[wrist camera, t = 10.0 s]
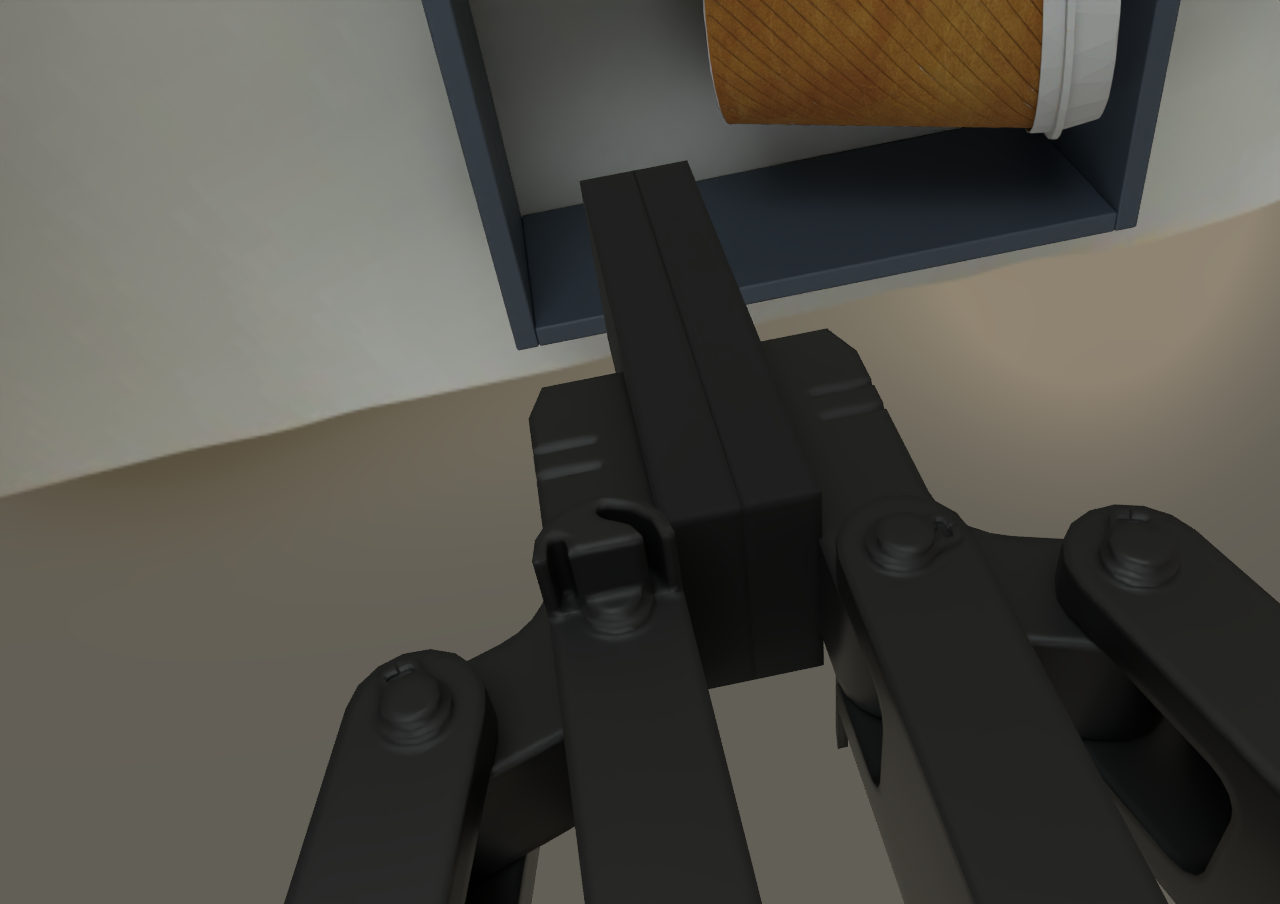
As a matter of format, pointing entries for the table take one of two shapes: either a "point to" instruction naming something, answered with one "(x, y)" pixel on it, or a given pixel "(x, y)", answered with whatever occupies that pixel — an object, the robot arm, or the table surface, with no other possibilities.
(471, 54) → the bin
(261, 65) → the table surface
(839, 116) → the disposable coffee cup
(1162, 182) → the table surface
